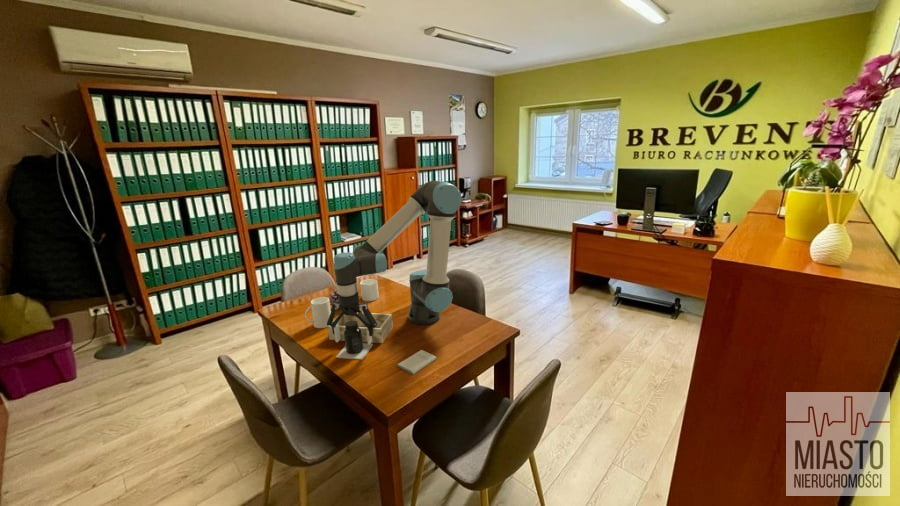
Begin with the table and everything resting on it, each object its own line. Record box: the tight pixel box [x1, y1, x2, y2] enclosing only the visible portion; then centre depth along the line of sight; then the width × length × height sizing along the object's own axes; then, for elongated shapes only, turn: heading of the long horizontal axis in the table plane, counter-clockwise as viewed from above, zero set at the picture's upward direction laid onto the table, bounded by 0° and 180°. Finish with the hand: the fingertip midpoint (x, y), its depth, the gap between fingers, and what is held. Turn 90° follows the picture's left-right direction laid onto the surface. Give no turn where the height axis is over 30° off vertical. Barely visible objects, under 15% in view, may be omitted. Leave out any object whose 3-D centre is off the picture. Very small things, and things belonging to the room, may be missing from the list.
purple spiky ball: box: [328, 288, 339, 306], centre depth 182 cm, size 12×12×12 cm
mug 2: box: [359, 278, 380, 302], centre depth 195 cm, size 12×9×9 cm
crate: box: [326, 312, 394, 344], centre depth 158 cm, size 24×14×6 cm, turn 80°
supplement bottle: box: [344, 321, 364, 354], centre depth 143 cm, size 7×7×12 cm
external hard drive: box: [397, 349, 437, 375], centre depth 136 cm, size 2×8×12 cm
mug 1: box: [304, 296, 332, 329], centre depth 166 cm, size 12×8×12 cm
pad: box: [335, 342, 374, 361], centre depth 145 cm, size 11×11×1 cm
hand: (354, 341), depth 144 cm, fingers open, 13 cm apart
